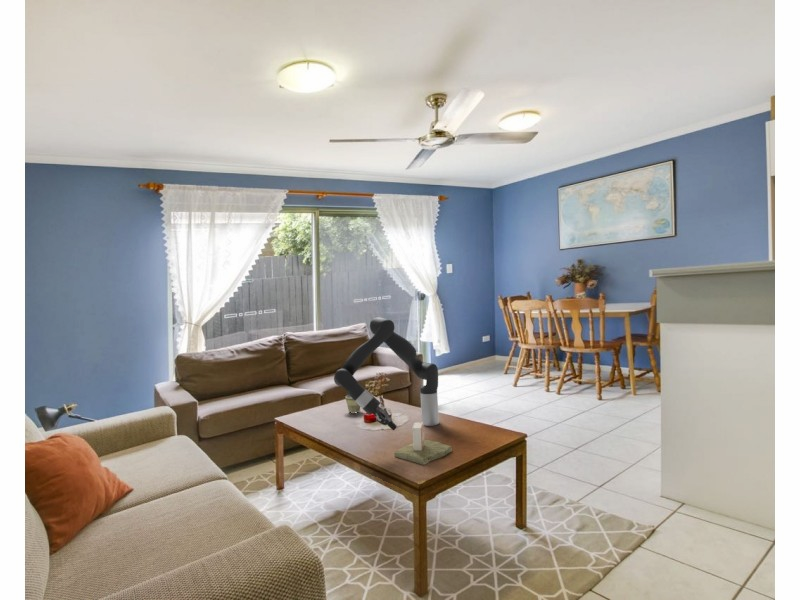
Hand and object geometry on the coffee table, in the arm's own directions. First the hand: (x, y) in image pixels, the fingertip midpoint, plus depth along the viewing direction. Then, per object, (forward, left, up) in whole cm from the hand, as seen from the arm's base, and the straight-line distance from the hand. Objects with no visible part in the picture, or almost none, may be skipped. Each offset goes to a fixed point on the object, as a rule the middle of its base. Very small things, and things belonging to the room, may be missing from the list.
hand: (395, 428), depth 200 cm
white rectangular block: (0, +10, -9) cm, 13 cm away
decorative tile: (0, +13, -12) cm, 18 cm away
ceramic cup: (-65, -35, -11) cm, 75 cm away
